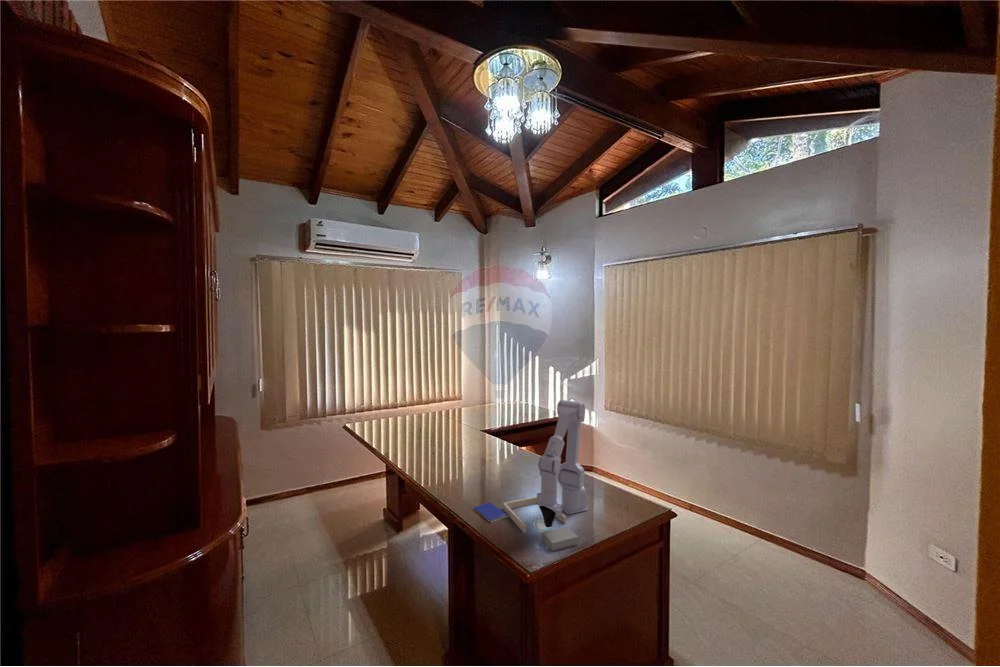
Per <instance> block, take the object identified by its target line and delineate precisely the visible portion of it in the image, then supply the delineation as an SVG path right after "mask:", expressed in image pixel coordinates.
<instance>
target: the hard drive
mask: <svg viewBox="0 0 1000 667" xmlns="http://www.w3.org/2000/svg"><path fill="white" fill-rule="evenodd" d="M474 509H475V510H476V511H477V512H479V513H480V514H481V515H482V516H483V517H482V516H481V515H480V514H479V513H478V514H479V515H480V516H481V517H482V518H484V517H485V518H486V519H487V520H486V519H485V518H484V519H485V520H486V521H488V522H489V521H490V522H492V523H494V522H493V521H495V522H498V521H500V519H501V520H503V518H504V519H507V518H509V516H508V514H507V513H506V512H505V511H504V510H503V509H501V508H499V507H497V506H496V505H495V504H493V503H492V502H487V503H484V504H481V505H478V506H474V507H473V510H474ZM475 510H474V511H475ZM476 511H475V512H476ZM477 512H476V513H477ZM506 517H507V518H506ZM497 520H498V521H497ZM490 522H489V523H490Z"/></svg>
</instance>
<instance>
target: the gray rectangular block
mask: <svg viewBox="0 0 1000 667" xmlns="http://www.w3.org/2000/svg"><path fill="white" fill-rule="evenodd" d="M541 540H542V542H544V544H545V545H547V547H548V548H549V549H550V550H551V551H552V552H554V551H557V550H561V549H565V548H568V547H569V548H570V547H573V546H576V545H579V536H578V535H577V534H576V533H575V532H574V531H572V530H571V529H570V528H569V527H568V526H563V527H559V528H554V529H551V530H550V529H549V530H545V531H542V532H541Z"/></svg>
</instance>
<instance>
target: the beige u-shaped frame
mask: <svg viewBox="0 0 1000 667" xmlns="http://www.w3.org/2000/svg"><path fill="white" fill-rule="evenodd" d="M538 502H540V500H539V499H537V496H532V497H527V498H523V499H515V500H511V501H506V502H502V511H503V512H505V513H506V514H508V518H510V519H511V520H512V521H513V523H515V525H516V526H517V527H518V528H519V529H520V531H522V532H523V533H524V534H526V533H527V525H526V524H525V522H524V521H522V519H521V518H520V517H519V516H518V515H517V514H516V513H515V512H514V511H513V510H512V509H515V508H522V507H525V506H531V505H535V504H538ZM555 518H557V519H558V520H559V521H560V522H562V523H563V524H564V525H565V524H567V516H566V515H565V514H563V513H562V515H560V516H557V515H555Z"/></svg>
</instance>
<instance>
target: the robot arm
mask: <svg viewBox="0 0 1000 667" xmlns="http://www.w3.org/2000/svg"><path fill="white" fill-rule="evenodd" d="M556 410H557V416H558V419H557V421H556V426H555V431H554V434H553V436H551V437H550V438H549V439H548V443H547V446H546V448H545V451H544V454H543V455H541V456H540V457H539V459H538V464H537V466H538V470H539V476H541V477H540V492H536V497H537V499H539V500H540V502H538V503H537V504H538V505H539V509H540V512H541V514H542V517H543V521H544V525H545V526H544V527H545V528H547V529H548V528H552V527H553V524H554V520H555V518H556V516H555V515H557V516H560V515H562V514H563V512H565V513H566V514H567V515H572V514H575V513H581V512H585V511H588V508H587V498H588V497H587V496H588V495H587V494H588V493H587V490H586V488H585V486H584V485H585V482H586V476H585V468H584V467H583V466H582V465H581V464H580V463H579V451H580V450H579V449H580V435H581V424H582V423H583V422H585V415H586V407H585V404H584V402H583V401H575V400H573V401H572V400H566V399H565V400H564V399H560V400H559V401H558V403H557V406H556ZM566 434H567V435H566ZM565 435H566V436H567V437H566V438H567V439H566V450H565V451H566V452H565V461H564V462H563V463H561V462H562V457H561V456H562V452H563V451H564V450H563V449H564V446H565V441H564V438H565ZM558 483H559V484H560V487H561V503H560V504H559V502H558Z"/></svg>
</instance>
